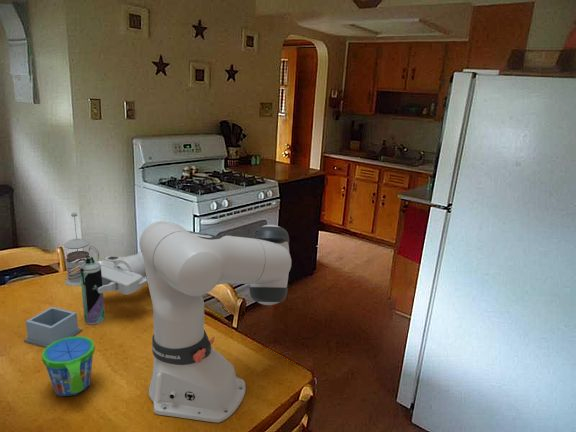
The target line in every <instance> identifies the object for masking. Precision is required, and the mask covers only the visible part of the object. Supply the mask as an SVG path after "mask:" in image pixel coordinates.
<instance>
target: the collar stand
mask: <svg viewBox="0 0 576 432" xmlns="http://www.w3.org/2000/svg"><path fill="white" fill-rule="evenodd" d="M77 314H78V313H77V312H76V311H75V312H74V311H71V310H68V309H67V310H66V309H63V308H60V307H59V308H58V307H55V306H51V307H49V308H47V309H46V310H43V311H42V312H40V313H38V314H37V315H34V316H33V317H31V318H29V319H27V320H26V321H25V327H26V333H27V337H25V338H24V339H23V342H24V343H27V344H31V345H34V346H36V347H37V346H38V347H42V348H44V349H45V348H46V347H47V346H49V345H50V344H52V343H53V342H55V341H58V340H60V339H64V338H67V337H75V336H77V335H79V334H80V333H82V332H83V328H79V324H78V323H79V322H78V315H77Z"/></svg>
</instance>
